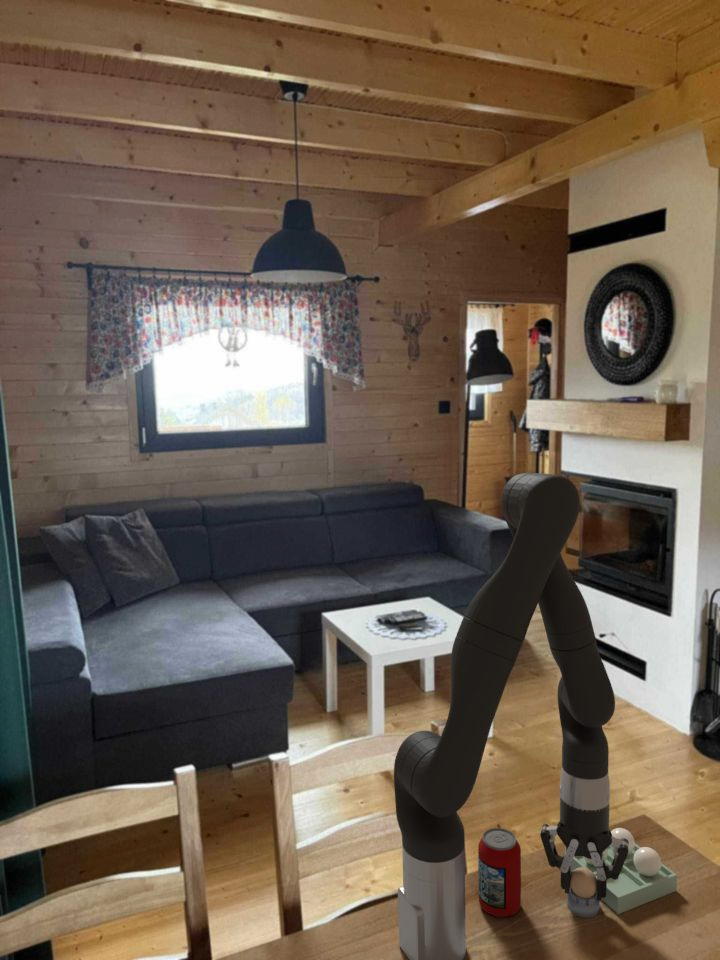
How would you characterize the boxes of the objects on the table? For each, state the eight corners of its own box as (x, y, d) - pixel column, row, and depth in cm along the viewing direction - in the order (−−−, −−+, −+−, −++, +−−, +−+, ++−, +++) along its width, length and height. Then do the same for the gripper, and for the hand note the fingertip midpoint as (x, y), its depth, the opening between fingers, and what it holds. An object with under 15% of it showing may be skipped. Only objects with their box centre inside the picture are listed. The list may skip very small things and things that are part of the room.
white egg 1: (592, 874, 124) (593, 850, 123) (575, 859, 128) (575, 835, 127) (613, 866, 125) (613, 843, 125) (595, 852, 129) (595, 829, 129)
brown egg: (581, 908, 116) (582, 882, 115) (563, 890, 120) (563, 865, 119) (603, 899, 118) (604, 874, 117) (584, 882, 122) (585, 858, 121)
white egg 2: (620, 864, 126) (620, 840, 126) (602, 849, 130) (602, 826, 130) (640, 857, 128) (640, 833, 127) (621, 842, 132) (622, 820, 131)
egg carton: (617, 914, 117) (618, 897, 117) (566, 868, 129) (566, 852, 128) (676, 890, 122) (676, 874, 122) (621, 848, 133) (622, 833, 133)
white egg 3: (646, 885, 121) (647, 860, 120) (627, 869, 125) (627, 845, 124) (667, 877, 122) (667, 853, 122) (647, 862, 126) (647, 838, 126)
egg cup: (581, 921, 116) (581, 906, 115) (560, 901, 120) (560, 887, 120) (606, 911, 118) (606, 896, 117) (585, 892, 122) (585, 878, 122)
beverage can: (470, 899, 121) (469, 832, 120) (504, 887, 124) (504, 820, 123) (494, 926, 115) (494, 855, 114) (529, 912, 118) (529, 843, 117)
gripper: (633, 790, 117) (630, 888, 120) (541, 775, 123) (541, 870, 125) (632, 816, 111) (629, 920, 113) (535, 799, 116) (534, 899, 118)
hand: (583, 893), depth 119 cm, fingers closed on brown egg, 4 cm apart
